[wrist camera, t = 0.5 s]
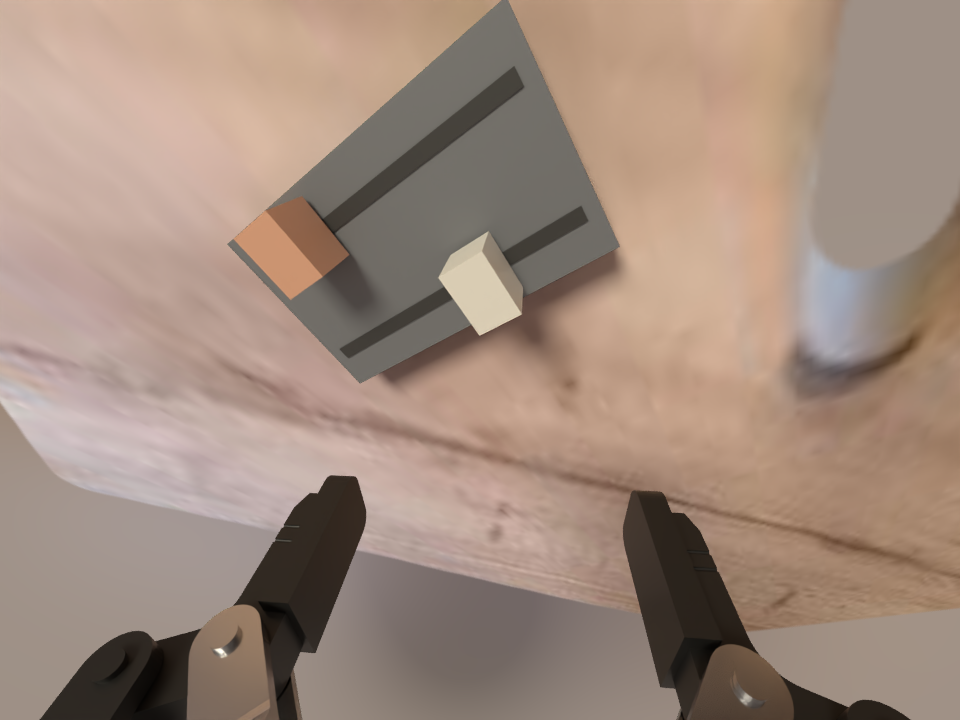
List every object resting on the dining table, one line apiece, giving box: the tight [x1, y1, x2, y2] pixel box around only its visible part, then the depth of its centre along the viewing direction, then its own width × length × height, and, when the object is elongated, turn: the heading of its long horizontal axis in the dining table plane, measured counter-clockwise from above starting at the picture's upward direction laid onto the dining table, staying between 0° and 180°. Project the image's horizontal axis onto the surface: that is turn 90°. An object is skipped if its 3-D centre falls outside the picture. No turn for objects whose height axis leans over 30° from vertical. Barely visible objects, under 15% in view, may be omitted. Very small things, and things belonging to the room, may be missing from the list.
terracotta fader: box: [234, 196, 349, 300], centre depth 24 cm, size 3×4×4 cm
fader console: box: [228, 0, 620, 383], centre depth 27 cm, size 23×14×3 cm, turn 123°
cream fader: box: [438, 231, 523, 336], centre depth 24 cm, size 3×4×4 cm
